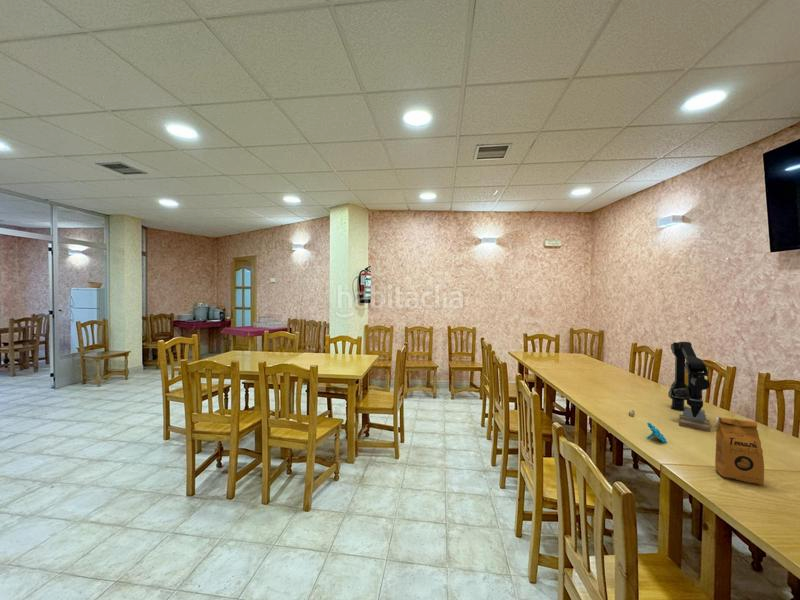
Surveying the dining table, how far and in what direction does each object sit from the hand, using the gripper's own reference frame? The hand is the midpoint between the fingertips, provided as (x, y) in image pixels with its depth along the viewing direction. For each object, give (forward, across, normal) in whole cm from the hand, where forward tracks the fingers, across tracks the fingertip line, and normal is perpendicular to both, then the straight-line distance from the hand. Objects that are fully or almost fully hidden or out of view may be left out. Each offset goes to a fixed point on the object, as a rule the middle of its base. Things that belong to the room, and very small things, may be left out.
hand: (694, 414), depth 176 cm
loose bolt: (+6, +3, -26) cm, 27 cm away
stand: (+6, 0, 0) cm, 6 cm away
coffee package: (+6, +56, +12) cm, 58 cm away
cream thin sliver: (+6, -4, +11) cm, 13 cm away
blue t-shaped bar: (+6, +35, -14) cm, 38 cm away
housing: (+3, 0, 0) cm, 3 cm away
